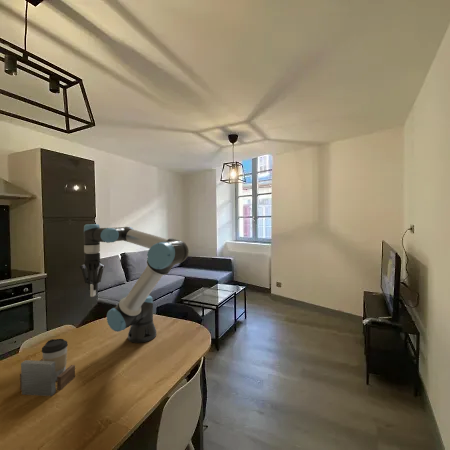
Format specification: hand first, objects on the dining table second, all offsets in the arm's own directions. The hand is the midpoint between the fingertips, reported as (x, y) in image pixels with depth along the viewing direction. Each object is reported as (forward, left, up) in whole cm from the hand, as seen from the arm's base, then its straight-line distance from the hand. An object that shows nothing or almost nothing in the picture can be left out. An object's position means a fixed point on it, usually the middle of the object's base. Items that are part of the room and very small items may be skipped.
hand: (93, 295), depth 136 cm
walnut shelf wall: (-3, +30, -24) cm, 39 cm away
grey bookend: (-4, +41, -24) cm, 48 cm away
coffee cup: (-3, +32, -25) cm, 40 cm away
